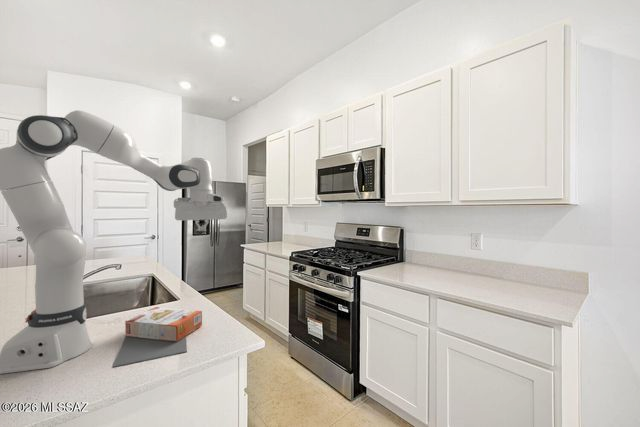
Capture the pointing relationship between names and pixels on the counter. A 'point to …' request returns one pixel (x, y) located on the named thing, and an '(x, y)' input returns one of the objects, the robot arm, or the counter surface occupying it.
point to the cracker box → (163, 324)
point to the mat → (147, 349)
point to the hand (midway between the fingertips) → (202, 230)
